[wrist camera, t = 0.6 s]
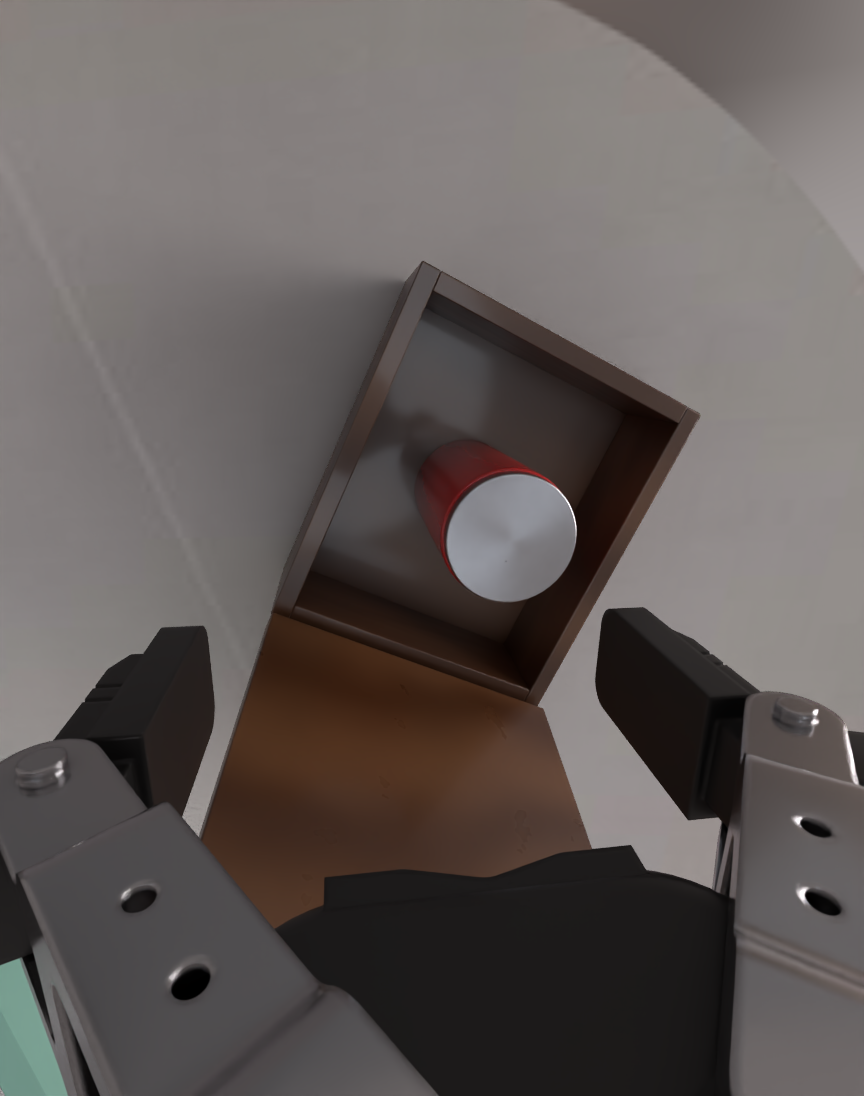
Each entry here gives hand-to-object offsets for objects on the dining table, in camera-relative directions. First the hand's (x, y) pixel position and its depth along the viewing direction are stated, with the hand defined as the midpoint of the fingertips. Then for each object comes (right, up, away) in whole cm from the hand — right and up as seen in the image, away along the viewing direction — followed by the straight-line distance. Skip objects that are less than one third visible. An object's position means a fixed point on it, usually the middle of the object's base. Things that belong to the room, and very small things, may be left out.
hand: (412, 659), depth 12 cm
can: (+2, +5, +18) cm, 19 cm away
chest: (+2, +5, +19) cm, 20 cm away
